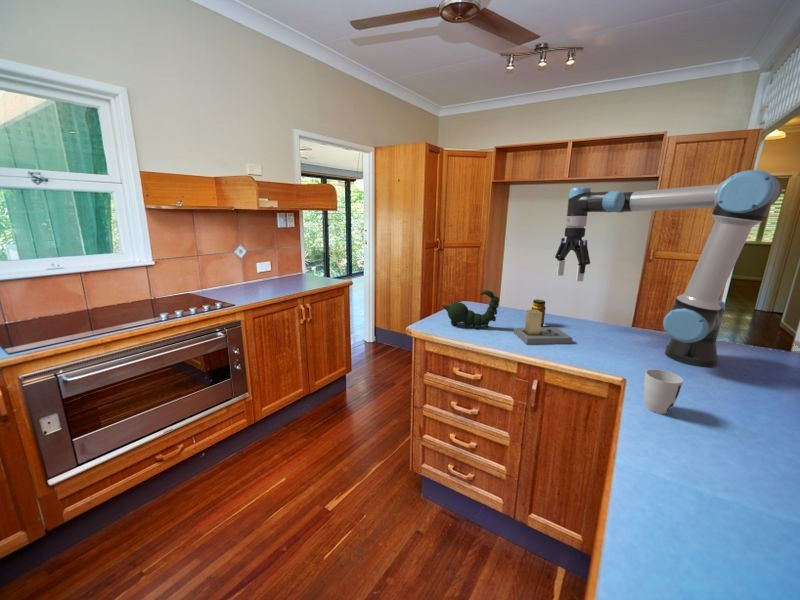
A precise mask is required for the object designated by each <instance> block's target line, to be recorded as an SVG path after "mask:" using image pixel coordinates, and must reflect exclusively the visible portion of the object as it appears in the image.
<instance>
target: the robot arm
mask: <svg viewBox="0 0 800 600" xmlns="http://www.w3.org/2000/svg"><path fill="white" fill-rule="evenodd" d="M782 187H783V186H782V183H781V182H780V180H779V178H778V177H776V176H774V175H772V173H771V174H770V173H769V172H768V171H764V170H760V169H759V170H758V169H748V170H743V171H739V172H737V173H735V174H733V175H731V176H729V177H728V178H726V179H725V180H723V181H721V182H720V183H719V184H709V185H708V184H707V185H695V186H684V187H673V188H663V189H660V188H659V189H651V190H640V191H627V192H626V191H625V192H623V191H619V190H610V191H596V192H594V191H593V192H592V191H591V188H590V187H586V186H585V187H584V186H583V187H572V188H571V189H570V191H569V195H568V198H567V211H566V213H567V214H566V219H565V228H564V237H562V238H561V240H560V244H559V247H558V248H557V249H558V250H557V252H556V254H555V255H554V256H555V257H554V259H557V269H556V276H558V277H559V276H561V277H562V276H564V275H565V274H564V273H565V266H566V265H565V263H566V257H567V256H568V254H569V253H570V252H571V251H573V252H574V253H575V256H576V259H577V261H578V264H577V270H576V277H575V282H583V281H584V278H585V272H586V266H588V265H590V264H591V259H590V255H589V248H588V240H587V239H583V238H584V237H585V236H586V228H585V227H587V221H588V215H589V214H588V213H627V212H629V213H630V212H646V211H652V212H653V211H670V210H672V211H673V210H693V209H694V210H695V209H697V210H698V209H711V208H712V209H713V211H712V213H711V217H712V219H714V220H713V221H714V224H713V226H712V228H711V230H710V233H709V235H708V237H707V241H706V243H705V244H704V246H703V249H702V251H701V254H700V256H699V258H698V261H697V263H696V265H695V268H694V270H693V272H692V275H691V277H690V279H689V282H688V284H687V287H686V289H685V291H684V293H682V294H680V295H678V296H676V298H675V300H674V303H673V305H672V308H671V310H670V311H668V312H667V313H666V315H665V316H664V318H663V322H662V324H663V325H662V326H663V329H664V331H665V332H666V334H667V335H668V336H669V337H670V338H671V339H670V341H669V343H668V344H667V345H666V347H665V348H664V349H665V351H664V355H666V356H667V357H668V358H670V359H672V360H674V361H677V362H680V363H682V364H687V365H691V366H697V367H705V368H706V367H707V368H709V367H716V366H717V365H718V363H719V362H718V361H719V356H718V351H717V339H718V336H719V332H720V328H721V324H722V320H723V316H724V314H725V311H726V303H725V302H723V301H722V300H720V297H721V295H722V293H723V290H724V288H725V287H726V284H727V282H728V280H729V278H730V275H731V274H732V272H733V269H734V267H735V265H736V263H737V261H738V258H739V257H740V255H741V252H742V250H743V248H744V245H745V244H746V242H747V239H748V237H749V236H750V233H751V231H752V229H753V227H755V226H757V225H759V224H761V223H763V221H764V220H765V218H766V216H767V213H768V212H769V209H770V207H771V206H773V205H774V204H775V203H776V202H777V201H778V199H779V198H780V196H781V194H782V191H783V190H782Z"/></svg>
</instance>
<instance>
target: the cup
mask: <svg viewBox="0 0 800 600" xmlns="http://www.w3.org/2000/svg"><path fill="white" fill-rule="evenodd" d="M683 382H684V379H683V378H682V377H681V376H679V375H678V374H676V373H674V372H671V371H668V370H667V371H666V370H663V369H656V368H655V369H654V368H652V369H650V368H649V369H647V370H645V374H644V382H643V399H644V405H645V408H646V409H647V410H648V409H649V410H648V411H650V412H652V411H653V413H655V412H656V413H655V414H658V413H660V414H659V415H667V414H668V413H669V412H670V410H672V408H673V406H674V405H675V402H676V401H677V400H678V396H679V395H680V392H681V389H682V385H683ZM666 413H667V414H666Z"/></svg>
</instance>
